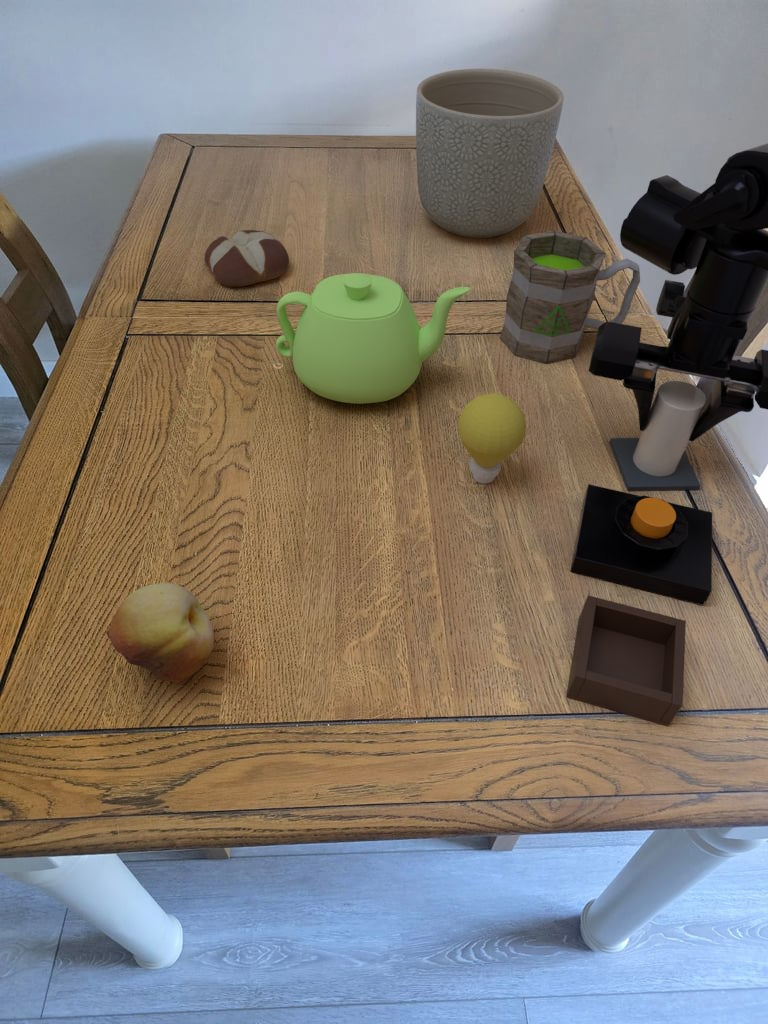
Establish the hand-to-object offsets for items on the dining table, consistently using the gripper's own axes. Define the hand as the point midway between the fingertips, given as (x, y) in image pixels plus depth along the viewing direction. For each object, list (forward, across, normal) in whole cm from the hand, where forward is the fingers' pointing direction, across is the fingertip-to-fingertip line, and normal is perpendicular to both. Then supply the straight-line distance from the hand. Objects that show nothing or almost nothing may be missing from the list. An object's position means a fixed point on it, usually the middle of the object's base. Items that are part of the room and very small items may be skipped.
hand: (666, 433), depth 73 cm
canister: (+4, 0, 0) cm, 4 cm away
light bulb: (+5, +17, +8) cm, 19 cm away
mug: (+5, +13, -20) cm, 25 cm away
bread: (+5, +59, -24) cm, 64 cm away
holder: (+5, +1, +26) cm, 27 cm away
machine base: (+5, 0, +12) cm, 13 cm away
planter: (+5, +31, -50) cm, 59 cm away
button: (+1, 0, +12) cm, 12 cm away
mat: (+5, 0, 0) cm, 5 cm away
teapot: (+5, +34, -4) cm, 35 cm away
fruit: (+5, +37, +38) cm, 53 cm away
